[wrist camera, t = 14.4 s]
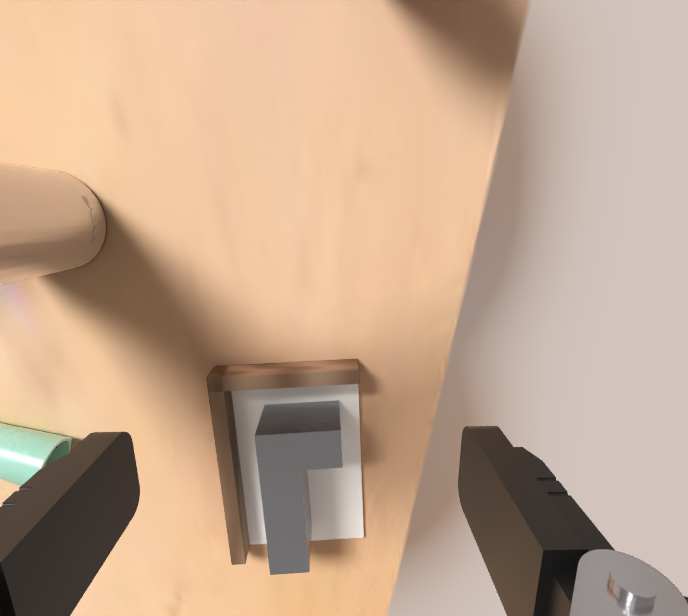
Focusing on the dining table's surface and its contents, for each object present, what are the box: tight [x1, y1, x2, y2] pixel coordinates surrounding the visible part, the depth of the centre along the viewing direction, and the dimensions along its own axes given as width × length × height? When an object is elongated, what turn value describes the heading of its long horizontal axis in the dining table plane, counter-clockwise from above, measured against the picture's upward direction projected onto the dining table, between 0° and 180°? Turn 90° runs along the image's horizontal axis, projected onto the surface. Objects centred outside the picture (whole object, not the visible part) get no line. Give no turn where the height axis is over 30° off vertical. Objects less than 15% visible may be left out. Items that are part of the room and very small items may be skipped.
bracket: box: [254, 400, 343, 575], centre depth 42 cm, size 16×8×6 cm, turn 3°
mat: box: [231, 384, 364, 545], centre depth 45 cm, size 14×21×1 cm, turn 2°
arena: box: [206, 359, 360, 565], centre depth 43 cm, size 15×22×3 cm, turn 2°
